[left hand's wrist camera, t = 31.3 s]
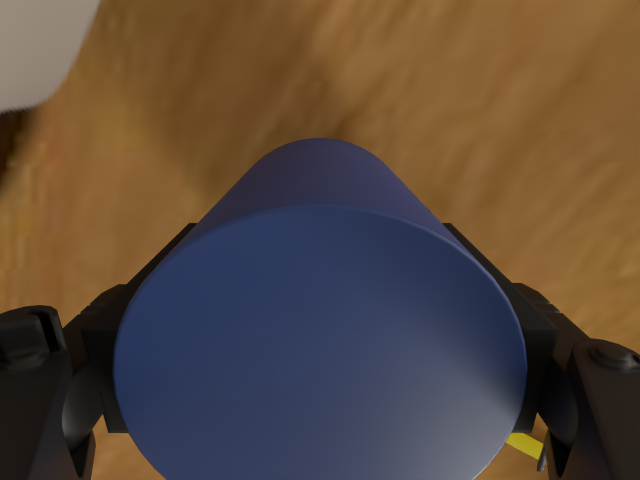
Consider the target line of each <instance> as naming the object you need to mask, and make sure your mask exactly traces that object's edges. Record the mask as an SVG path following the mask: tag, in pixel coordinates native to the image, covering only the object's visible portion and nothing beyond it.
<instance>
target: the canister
mask: <svg viewBox="0 0 640 480" xmlns="http://www.w3.org/2000/svg"><path fill="white" fill-rule="evenodd" d="M112 374H113V383H114V392H115V397H116V401H117V404H118V408H119V411H120V415H121V417H122V419H123V422H124V424H125V426H126V428H127V430H128V433H129V435H130V436H131V438H132V439H133V441H134V442H135V444H136V446H137V447H138V449H139V450H140V452H141V453H142V454H143V455H144V457H145V458H146V459H147V460H148V461H149V463H150V464H151V465H152V466H153V467H154V468H155V469H156V470H157V471H158V472H159V473H160V474H161V475H162V476H163V477H164V478H165V479H166V480H474V479H475V478H476V477H477V476H478V475H479V474H480V473H481V472H482V471H483V470H484V469H485V468H486V467H487V466H488V465H489V464H490V463H491V461H492V460H493V459H494V457H495V456H496V455H497V454H498V452H499V451H500V450H501V449H502V447H503V446H504V444H505V442H506V440H507V439H508V437H509V435H510V434H511V432H512V430H513V428H514V426H515V423H516V421H517V418H518V416H519V413H520V411H521V408H522V403H523V399H524V395H525V391H526V380H527V359H526V349H525V342H524V338H523V334H522V331H521V327H520V324H519V320H518V318H517V316H516V314H515V312H514V310H513V308H512V305H511V303H510V301H509V299H508V297H507V296H506V295H505V293H504V292H503V290H502V289H501V287H500V286H499V284H498V283H497V282H496V280H495V279H494V277H493V276H492V275H491V274H490V273H489V272H488V271H487V270H486V269H485V268H484V267H483V266H482V265H481V264H480V263H479V262H478V261H477V260H476V259H475V257H474V256H473V255H472V254H471V253H470V252H469V251H468V250H467V249H466V248H465V247H464V246H463V245H462V244H461V243H460V242H459V241H458V240H457V239H456V238H455V237H454V236H453V235H452V234H451V232H450V231H449V230H448V229H447V228H446V227H445V226H444V225H443V224H442V223H441V222H440V221H439V220H438V219H437V218H436V217H435V216H434V215H433V214H432V213H431V212H430V211H429V210H428V209H427V207H426V206H425V205H424V204H423V203H422V202H421V201H420V200H419V199H418V198H417V197H416V196H415V195H414V194H413V193H412V192H411V191H410V190H409V189H408V188H407V187H406V186H405V185H404V184H403V182H402V181H401V180H400V179H399V178H398V177H397V176H396V175H395V174H394V173H393V172H392V171H391V170H390V169H389V168H388V167H387V166H386V165H385V164H384V163H383V162H382V161H381V160H380V159H378V158H377V157H376V156H375V155H373V154H372V153H370V152H368V151H367V150H365V149H363V148H361V147H359V146H356V145H354V144H351V143H348V142H344V141H341V140H335V139H327V138H312V139H305V140H299V141H295V142H292V143H289V144H286V145H283V146H281V147H279V148H277V149H275V150H273V151H272V152H270V153H268V154H267V155H265V156H264V157H263V158H261V159H260V160H259V161H258V162H257V163H255V164H254V165H253V166H252V167H251V169H250V170H249V171H248V172H247V173H246V174H245V175H244V176H243V177H242V178H241V179H240V180H239V181H238V182H237V183H236V184H235V185H234V186H233V187H232V188H231V189H230V190H229V191H228V192H227V193H226V194H225V195H224V197H223V198H222V199H221V200H220V201H219V202H218V203H217V204H216V205H215V206H214V207H213V208H212V209H211V210H210V211H209V212H208V213H207V214H206V215H205V216H204V217H203V218H202V219H201V220H200V221H199V222H198V223H197V225H196V226H195V227H194V228H193V229H192V230H191V231H190V232H189V233H188V234H187V235H186V236H185V237H184V238H183V239H182V240H181V241H180V242H179V243H178V244H177V245H176V246H175V247H174V248H173V249H172V250H171V251H170V253H169V254H168V255H167V256H166V257H165V258H164V259H163V260H162V261H161V262H160V263H159V264H158V265H157V266H156V267H155V269H154V270H153V271H152V272H151V273H150V274H149V275H148V276H147V278H146V279H145V280H144V281H143V282H142V283H141V285H140V287H139V288H138V290H137V291H136V293H135V294H134V296H133V298H132V299H131V301H130V302H129V304H128V306H127V309H126V311H125V313H124V316H123V318H122V320H121V323H120V325H119V329H118V333H117V338H116V342H115V346H114V354H113V370H112Z"/></svg>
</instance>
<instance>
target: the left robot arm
mask: <svg viewBox="0 0 640 480" xmlns="http://www.w3.org/2000/svg"><path fill="white" fill-rule="evenodd" d="M442 224H443V225H444V226H445V227H446V228H447V229H448V230H449V231H450V232H451V234H452V235H453V236H454V237H455V238H456V239H457V240H458V241H459V242H460V243H461V244H462V245H463V246H464V247H465V248H466V249H467V250H468V251H469V252H470V253H471V254H472V255H473V256H474V257H475V259H476V260H477V261H478V262H479V263H480V264H481V265H482V266H483V267H484V268H485V269H486V270H487V271H488V272H489V273H490V274H491V275H492V276H493V277H494V279H495V280H496V282H497V283H498V284H499V286H500V287H501V289H502V290H503V292H504V293H505V295H506V296H507V297H508V299H509V301H510V303H511V305H512V308H513V310H514V312H515V314H516V316H517V318H518V320H519V324H520V327H521V331H522V334H523V338H524V342H525V349H526V359H527V380H526V391H525V395H524V399H523V403H522V408H521V411H520V413H519V416H518V418H517V421H516V423H515V426H514V428H513V430H512V432H511V433H531V432H532V429H533V425H534V421H535V418H536V414H537V412H538V414H539V415H540V417H541V418H542V419H543V421H544V422H545V424H546V425H547V427H548V430H547V433H546V437H545V440H544V444H543V447H542V450H541V454H540V457H539V460H538V465H537V471H540V472H543V469H544V466H545V464H546V463H547V467H548V473H549V480H640V355H639V354H637V353H636V352H634V351H633V350H630V349H628V348H626V347H624V346H621V345H619V344H616V343H613V342H609V341H606V340H600V339H592V338H589V337H588V336H587V335H586V334H585V333H584V332H583V331H581V330H580V329H579V328H578V327H577V326H576V325H575V324H574V323H573V322H571V321H570V320H569V319H568V318H567V317H566V316H565V315H564V314H563V313H560V311H559V310H558V309H557V308H556V307H555V306H554V305H552V304H550V302H549V301H548V300H547V299H546V298H545V297H544V296H542V295H541V294H540V293H539V292H538V291H536V290H534V289H532V288H530V287H528V286H526V285H524V284H522V283H511V282H510V281H509V280H508V279H507V278H506V277H505V276H504V275H503V274H502V273H501V272H500V271H499V270H498V269H497V268H496V267H495V266H494V265H493V264H492V263H491V262H490V261H489V260H488V259H487V258H486V257H485V256H484V255H483V254H482V253H481V252H480V251H479V250H478V249H477V248H475V247H474V246H473V245H472V244H471V243H470V242H469V241H468V240H467V239H466V238H465V237H464V236H463V235H462V234H461V233H460V232H459V231H458V230H457V229H456V228H455V227H454V226H453V225H452V224H451V223H442ZM196 225H197V223H189V224H188V225H187V226H186V227H185V228H184V229H183V230H182V231H181V232H180V233H179V234H178V235H177V236H176V237H175V238H174V239H172V240H171V241H170V242H169V243H168V244H167V245H166V246H165V247H164V248H163V249H162V250H161V251H160V252H159V253H158V254H157V255H156V256H155V257H154V258H153V259H152V260H151V261H150V262H149V263H148V264H147V265H146V266H145V267H144V268H143V269H142V270H141V271H140V272H139V273H138V274H137V275H136V276H134V277H133V278H132V279H131V280H130V281H129V282H128V283H127V284H118V285H116V286H115V287H113V288H111V289H109V290H107V291H105V292H103V293H101V294H100V295H99V296H98V297H97V298H96V299H95V300H94V301H92V302H91V303H90V306H87V307H86V308H85V309H84V310H83V311H81V314H80V315H77V316H76V317H75V318H74V319H73V320H71V321H70V322H69V323H68V324H67V325H66V326H65V327H64V328H63V329H62V326H61V322H60V319H59V316H58V312H57V310H56V309H54V308H53V307H51V306H43V305H37V306H26V307H22V308H18V309H14V310H10V311H7V312H4V313H2V314H0V480H91V474H92V468H93V461H94V454H95V448H96V443H95V437H94V433H93V430H92V428H93V427H94V426H95V424H96V423H97V421H98V420H99V418H100V417H101V415H102V414H103V415H104V419H105V422H106V426H107V430H108V433H128V430H127V428H126V426H125V424H124V422H123V419H122V417H121V415H120V411H119V408H118V404H117V401H116V397H115V392H114V383H113V374H112V370H113V354H114V346H115V342H116V338H117V333H118V329H119V325H120V323H121V320H122V318H123V316H124V313H125V311H126V309H127V306H128V304H129V302H130V301H131V299H132V298H133V296H134V294H135V293H136V291H137V290H138V288H139V287H140V285H141V283H142V282H143V281H144V280H145V279H146V278H147V276H148V275H149V274H150V273H151V272H152V271H153V270H154V269H155V267H156V266H157V265H158V264H159V263H160V262H161V261H162V260H163V259H164V258H165V257H166V256H167V255H168V254H169V253H170V251H171V250H172V249H173V248H174V247H175V246H176V245H177V244H178V243H179V242H180V241H181V240H182V239H183V238H184V237H185V236H186V235H187V234H188V233H189V232H190V231H191V230H192V229H193V228H194V227H195V226H196Z"/></svg>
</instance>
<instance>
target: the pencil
mask: <svg viewBox="0 0 640 480" xmlns="http://www.w3.org/2000/svg"><path fill="white" fill-rule="evenodd" d="M506 443H508V444H510V445H511V446H513V447H515V448H517V449H519V450H521V451H523V452H524V453H526V454H528V455H530V456H532V457H534V458H536V459H538V460H539V457H540V454H541V450H542V447H543V444H542V443H541V442H539V441H537V440H535V439H533V438H532V437H530V436H528V435H526V434H524V433H511V434H510V435H509V437H508V439H507V440H506ZM546 464H547V463H546Z"/></svg>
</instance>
